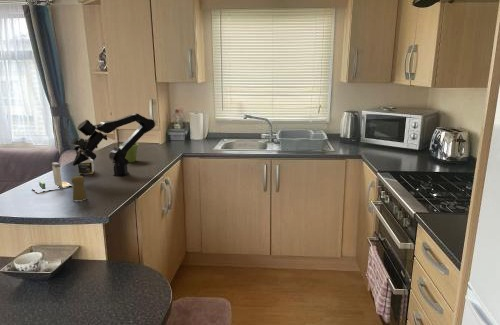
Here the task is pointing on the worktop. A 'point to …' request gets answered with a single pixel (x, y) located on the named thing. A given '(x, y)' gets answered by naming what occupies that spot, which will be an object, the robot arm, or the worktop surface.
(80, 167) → the medicine bottle
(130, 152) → the plant pot
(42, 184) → the base
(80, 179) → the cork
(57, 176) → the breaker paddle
